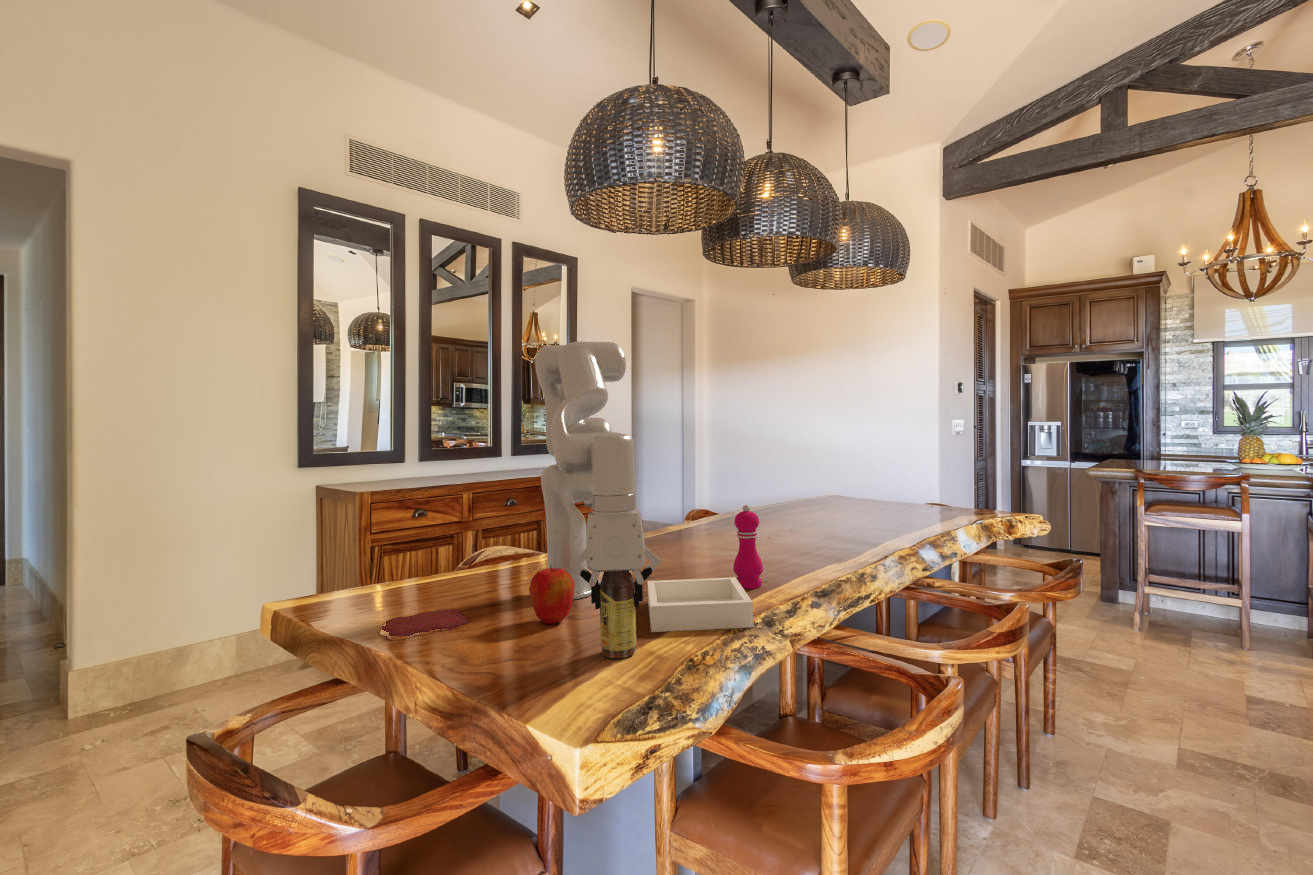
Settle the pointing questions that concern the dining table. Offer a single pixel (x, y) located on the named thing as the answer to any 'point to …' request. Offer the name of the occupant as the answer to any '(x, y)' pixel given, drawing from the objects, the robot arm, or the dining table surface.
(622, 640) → the sauce bottle
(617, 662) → the dining table surface
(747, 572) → the pepper mill
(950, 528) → the dining table surface
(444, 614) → the patty
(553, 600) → the apple
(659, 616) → the tray
